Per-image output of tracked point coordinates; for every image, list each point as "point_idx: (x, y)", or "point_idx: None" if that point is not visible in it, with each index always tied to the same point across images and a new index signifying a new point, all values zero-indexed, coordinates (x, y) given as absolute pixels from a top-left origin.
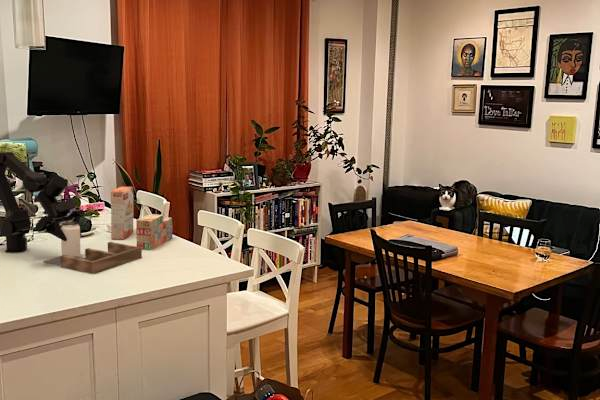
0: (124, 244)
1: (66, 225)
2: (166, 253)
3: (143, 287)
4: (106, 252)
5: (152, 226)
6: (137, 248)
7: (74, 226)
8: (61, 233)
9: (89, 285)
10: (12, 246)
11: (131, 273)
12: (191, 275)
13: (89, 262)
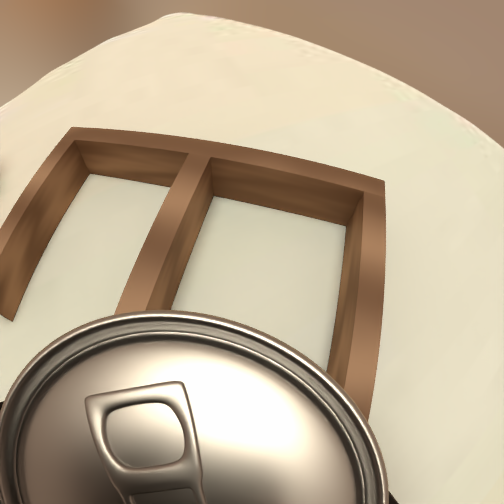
0: (16, 204)
1: (383, 488)
2: (42, 128)
3: (376, 81)
4: (176, 204)
5: None
6: (87, 129)
7: (264, 348)
8: (389, 495)
9: (450, 179)
10: None
11: (292, 116)
12: (248, 39)
13: (384, 200)
